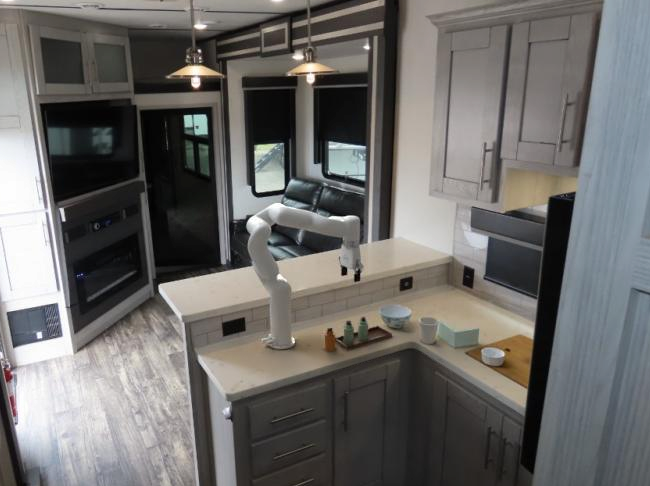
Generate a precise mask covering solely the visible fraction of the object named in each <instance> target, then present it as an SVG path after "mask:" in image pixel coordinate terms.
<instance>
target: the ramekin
mask: <svg viewBox="0 0 650 486" xmlns="http://www.w3.org/2000/svg"><path fill="white" fill-rule="evenodd" d="M480 353H481V361H482V363H484V364H485V365H487V366H491V367H499V366H502V365H503V364H504V360H505V356H506V353H505V351H503V350H501V349H499V348H496V347H484V348H482V349H481V351H480Z"/></svg>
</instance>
